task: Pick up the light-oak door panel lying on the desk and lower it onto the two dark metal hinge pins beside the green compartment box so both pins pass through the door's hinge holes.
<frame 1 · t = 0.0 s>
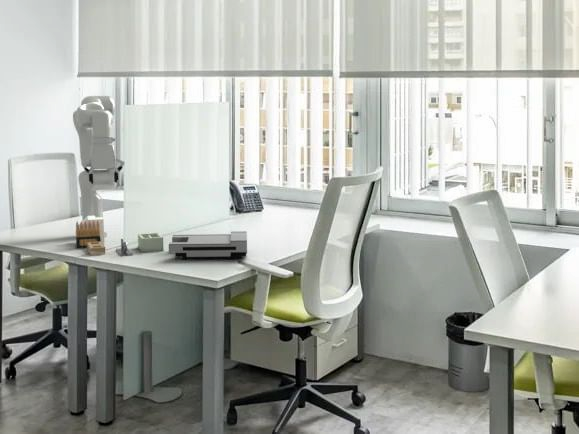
hand: (103, 182, 310), 31 cm above the table, tool pointing down, fingers open, 9 cm apart
grey printer: (209, 256, 319), on the table
green compartment box: (150, 249, 330), on the table
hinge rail: (124, 252, 323), on the table
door: (96, 251, 324), on the table
ammunition clip: (88, 247, 333), on the table
corner bracket: (91, 244, 341), on the table
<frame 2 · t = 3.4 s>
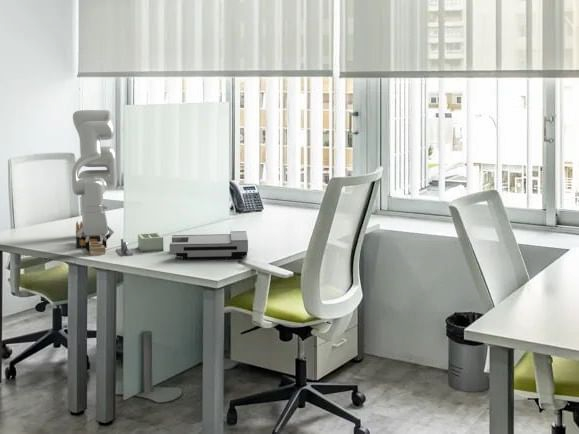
hand: (96, 249, 324), 1 cm above the table, tool pointing down, fingers closed on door, 6 cm apart
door: (96, 251, 324), on the table, touching gripper
everything else where it was.
when the fingers open (3 cm above the table, at t = 8.0 s): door drops 2 cm, resting on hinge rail.
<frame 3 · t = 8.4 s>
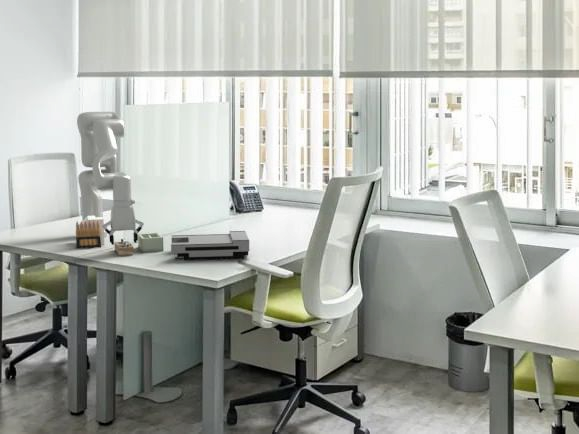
hand: (123, 243, 322), 4 cm above the table, tool pointing down, fingers open, 9 cm apart
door: (124, 251, 323), resting on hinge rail
everything else where it was.
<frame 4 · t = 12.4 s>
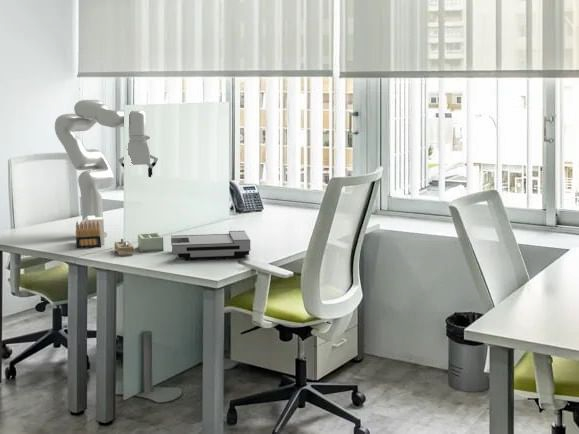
hand: (138, 177, 335), 30 cm above the table, tool pointing down, fingers open, 9 cm apart
at the end: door 0.1 cm off-centre on the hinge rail, point 0.5 cm above the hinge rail's base; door tilted 0°; the gripper is holding nothing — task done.
